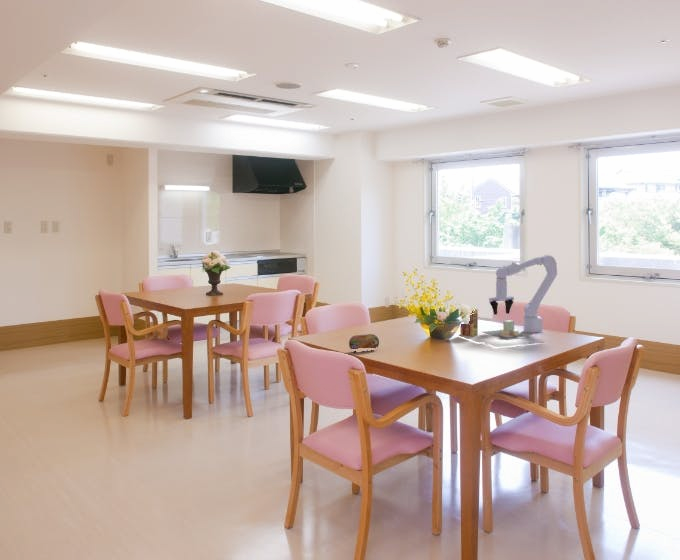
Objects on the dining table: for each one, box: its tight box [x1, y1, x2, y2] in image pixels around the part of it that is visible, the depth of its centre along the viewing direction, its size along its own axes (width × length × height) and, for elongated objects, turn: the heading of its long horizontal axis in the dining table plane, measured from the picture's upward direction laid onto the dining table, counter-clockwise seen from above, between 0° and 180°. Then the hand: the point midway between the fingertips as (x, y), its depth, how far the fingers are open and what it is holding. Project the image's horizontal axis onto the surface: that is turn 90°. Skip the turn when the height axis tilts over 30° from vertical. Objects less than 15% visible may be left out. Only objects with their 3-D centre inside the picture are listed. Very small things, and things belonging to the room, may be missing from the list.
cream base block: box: [499, 329, 520, 338], centre depth 315 cm, size 7×7×3 cm
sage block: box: [502, 319, 515, 331], centre depth 314 cm, size 4×4×5 cm
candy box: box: [459, 308, 479, 337], centre depth 321 cm, size 9×4×15 cm, turn 39°
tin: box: [348, 333, 380, 350], centre depth 292 cm, size 15×3×8 cm, turn 105°
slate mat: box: [482, 329, 530, 341], centre depth 319 cm, size 14×25×1 cm, turn 17°
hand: (501, 313), depth 330 cm, fingers open, 7 cm apart
